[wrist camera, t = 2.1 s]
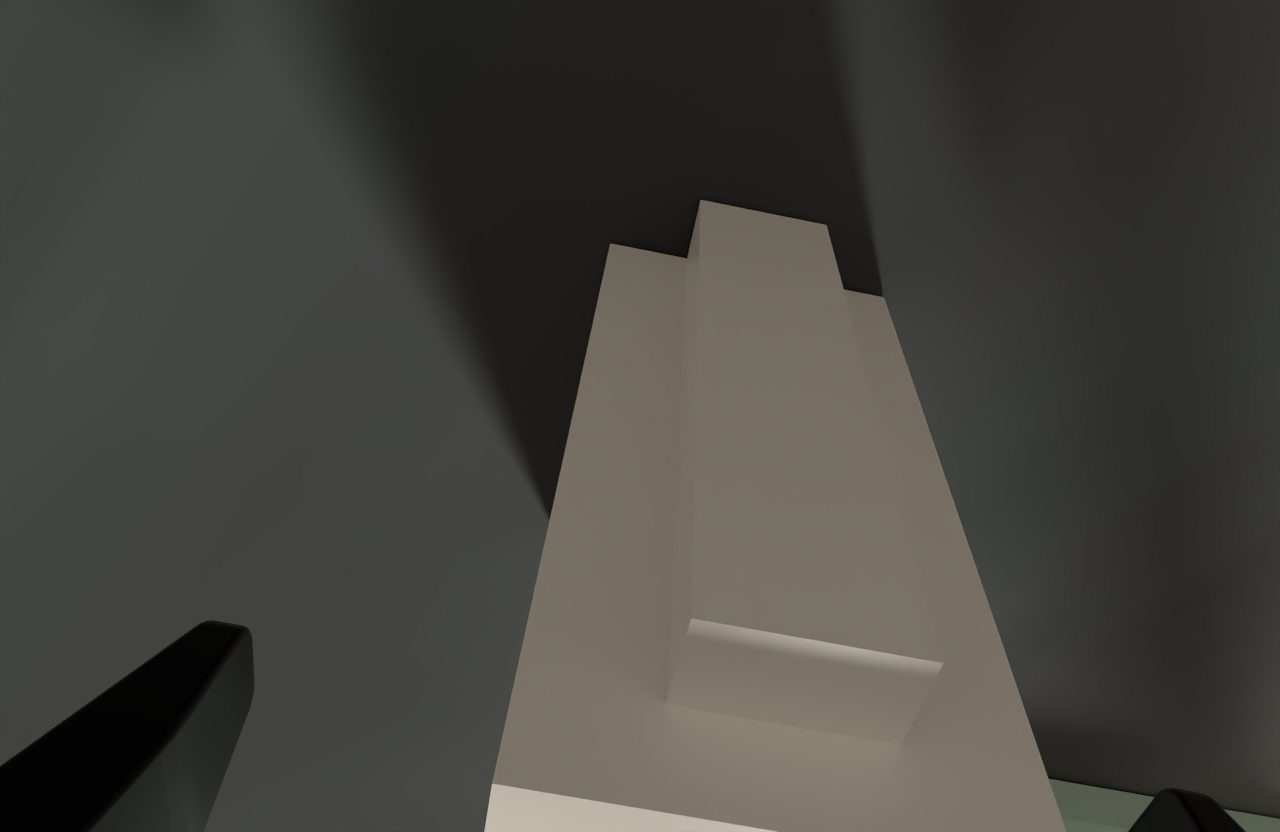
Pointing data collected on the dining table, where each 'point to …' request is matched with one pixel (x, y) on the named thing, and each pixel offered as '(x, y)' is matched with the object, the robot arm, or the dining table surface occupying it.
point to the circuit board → (1123, 810)
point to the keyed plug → (757, 573)
